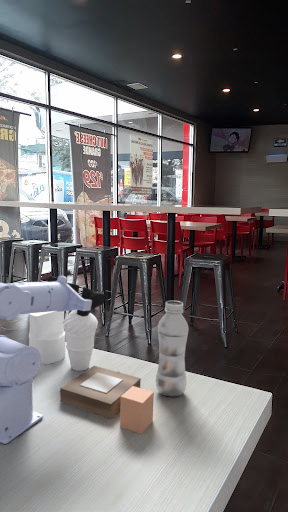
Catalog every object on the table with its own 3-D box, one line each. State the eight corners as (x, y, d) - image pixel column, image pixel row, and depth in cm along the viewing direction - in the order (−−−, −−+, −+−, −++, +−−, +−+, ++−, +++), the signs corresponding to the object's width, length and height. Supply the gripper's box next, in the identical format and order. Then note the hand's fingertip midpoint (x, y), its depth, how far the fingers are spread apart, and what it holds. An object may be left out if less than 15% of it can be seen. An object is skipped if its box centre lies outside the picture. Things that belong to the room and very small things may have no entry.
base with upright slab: (50, 346, 109) (50, 303, 107) (72, 355, 103) (72, 311, 101) (22, 356, 102) (21, 311, 100) (43, 366, 96) (43, 319, 94)
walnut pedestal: (110, 418, 75) (111, 403, 75) (60, 401, 81) (60, 387, 80) (140, 391, 86) (140, 377, 85) (93, 377, 91) (93, 364, 91)
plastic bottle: (175, 404, 81) (180, 309, 78) (148, 393, 85) (152, 303, 82) (191, 392, 86) (196, 302, 83) (165, 382, 90) (169, 296, 87)
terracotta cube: (141, 434, 71) (142, 403, 70) (119, 426, 73) (120, 396, 72) (152, 421, 75) (153, 391, 74) (131, 414, 77) (132, 385, 76)
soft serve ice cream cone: (59, 362, 99) (58, 300, 96) (91, 357, 102) (92, 297, 99) (67, 377, 91) (67, 310, 88) (102, 371, 95) (103, 306, 92)
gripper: (70, 285, 71) (119, 284, 82) (20, 268, 79) (70, 268, 90) (64, 324, 71) (112, 317, 82) (14, 302, 79) (65, 299, 91)
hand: (90, 294), depth 86 cm, fingers open, 7 cm apart
